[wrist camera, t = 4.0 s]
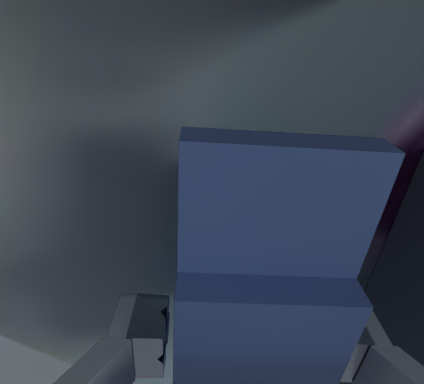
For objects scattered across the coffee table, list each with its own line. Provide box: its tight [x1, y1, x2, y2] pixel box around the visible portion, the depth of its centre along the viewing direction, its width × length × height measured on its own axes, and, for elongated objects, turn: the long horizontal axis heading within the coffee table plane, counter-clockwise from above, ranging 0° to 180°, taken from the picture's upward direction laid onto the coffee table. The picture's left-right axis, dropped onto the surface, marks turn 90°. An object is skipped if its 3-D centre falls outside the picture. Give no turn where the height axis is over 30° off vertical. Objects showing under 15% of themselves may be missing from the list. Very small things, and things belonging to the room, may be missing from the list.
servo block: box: [173, 127, 406, 384], centre depth 11 cm, size 4×13×8 cm, turn 176°
